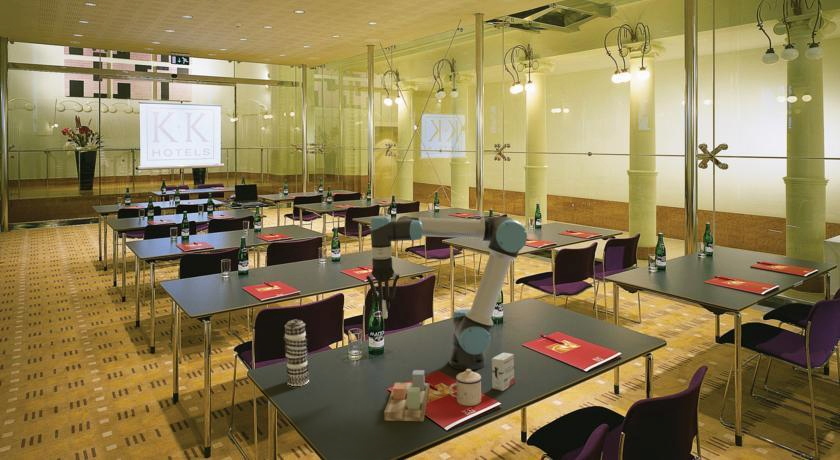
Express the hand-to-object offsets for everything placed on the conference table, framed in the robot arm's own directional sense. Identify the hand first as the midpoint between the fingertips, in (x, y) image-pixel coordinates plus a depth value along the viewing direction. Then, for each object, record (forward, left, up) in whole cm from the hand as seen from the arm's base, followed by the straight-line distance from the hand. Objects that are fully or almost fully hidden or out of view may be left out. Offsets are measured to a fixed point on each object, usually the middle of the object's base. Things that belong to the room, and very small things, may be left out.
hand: (385, 317), depth 215 cm
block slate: (-14, +12, -23) cm, 30 cm away
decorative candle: (+35, +2, -26) cm, 44 cm away
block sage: (-14, +27, -23) cm, 38 cm away
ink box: (-45, +2, -26) cm, 52 cm away
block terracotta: (-8, +20, -25) cm, 33 cm away
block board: (-11, +20, -26) cm, 34 cm away
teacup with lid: (-31, +16, -26) cm, 43 cm away
